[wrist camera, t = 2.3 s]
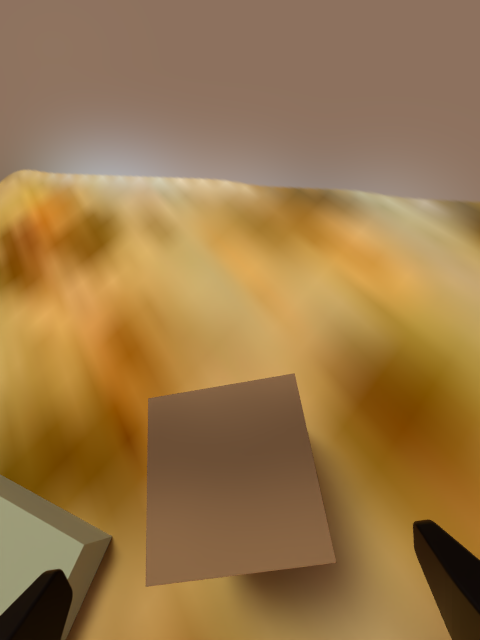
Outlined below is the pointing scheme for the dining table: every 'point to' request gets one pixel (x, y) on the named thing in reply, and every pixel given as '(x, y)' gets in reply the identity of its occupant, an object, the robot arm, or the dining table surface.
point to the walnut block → (232, 484)
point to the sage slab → (44, 546)
